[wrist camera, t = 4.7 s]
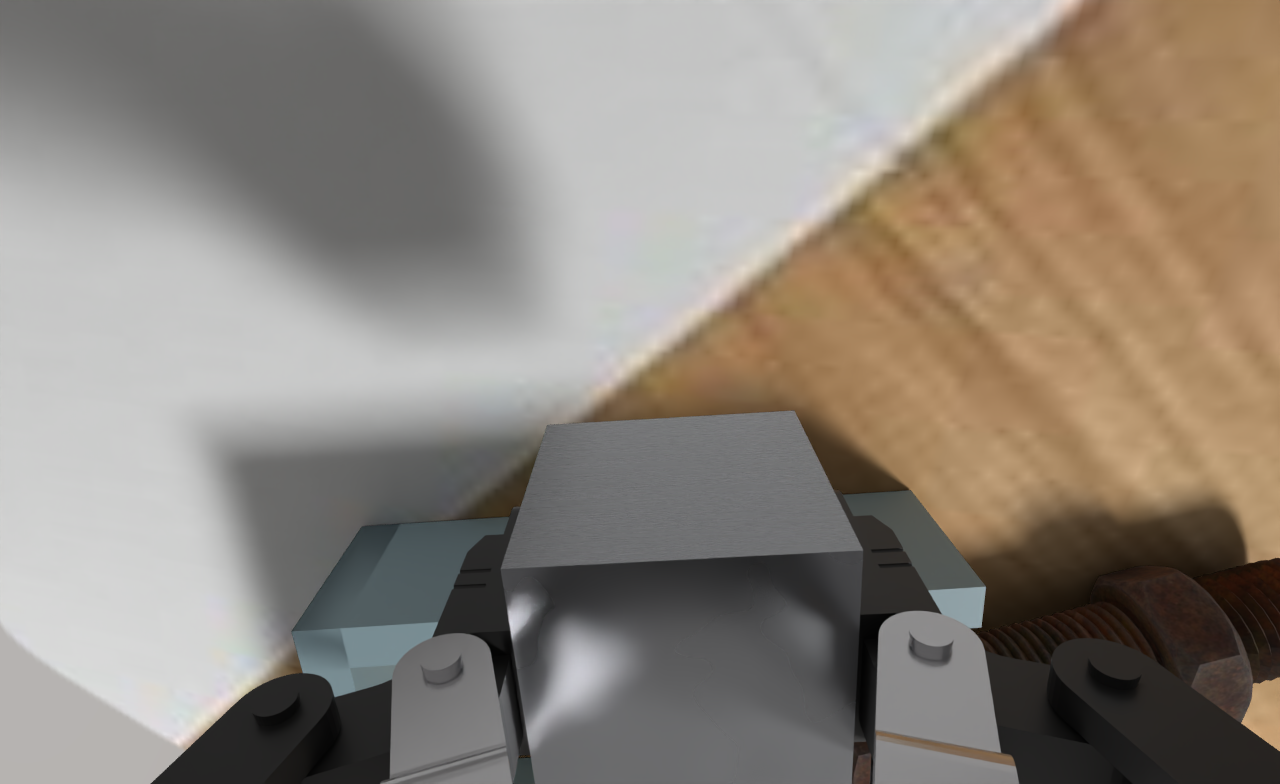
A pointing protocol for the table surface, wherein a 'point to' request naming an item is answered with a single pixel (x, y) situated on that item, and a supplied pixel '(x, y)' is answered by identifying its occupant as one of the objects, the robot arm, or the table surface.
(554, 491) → the block
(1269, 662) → the bolt
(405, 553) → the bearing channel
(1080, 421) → the table surface
